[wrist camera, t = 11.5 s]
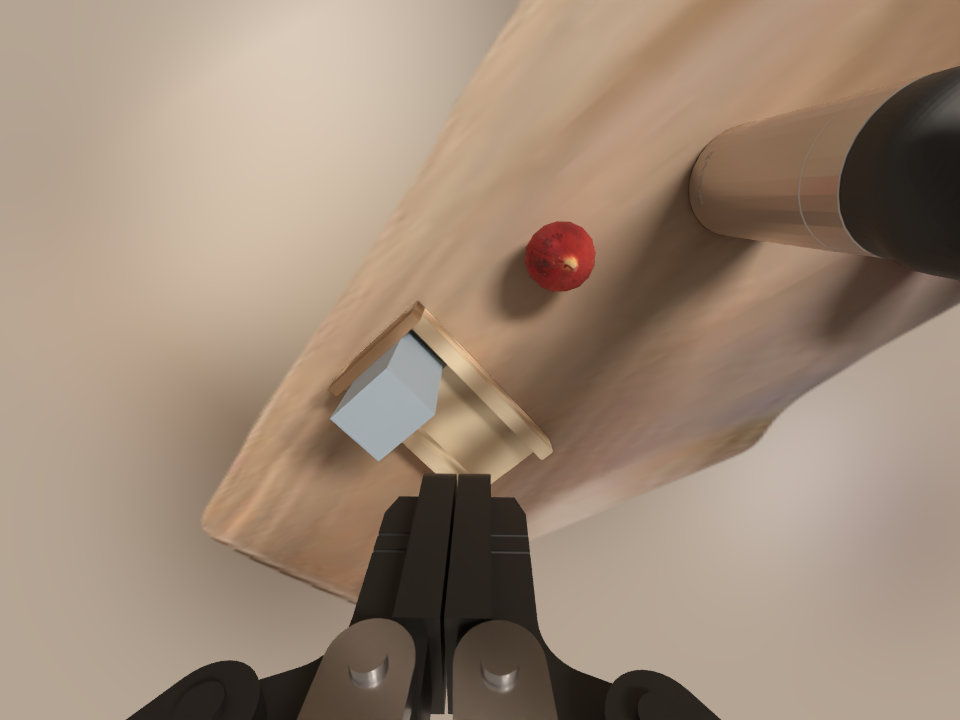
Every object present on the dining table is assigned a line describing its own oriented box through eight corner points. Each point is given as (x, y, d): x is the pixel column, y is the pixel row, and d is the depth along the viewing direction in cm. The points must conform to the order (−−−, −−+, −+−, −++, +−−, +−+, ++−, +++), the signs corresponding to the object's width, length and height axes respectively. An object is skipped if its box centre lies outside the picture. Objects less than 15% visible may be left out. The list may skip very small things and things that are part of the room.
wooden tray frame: (548, 437, 48) (556, 462, 43) (475, 492, 50) (476, 522, 46) (417, 300, 43) (411, 313, 38) (342, 369, 45) (327, 389, 40)
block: (443, 363, 44) (434, 414, 33) (399, 401, 45) (378, 461, 35) (406, 326, 42) (386, 368, 32) (362, 366, 44) (329, 418, 33)
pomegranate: (519, 282, 42) (530, 301, 35) (522, 219, 40) (534, 223, 33) (580, 283, 43) (604, 301, 35) (586, 220, 41) (613, 225, 33)
